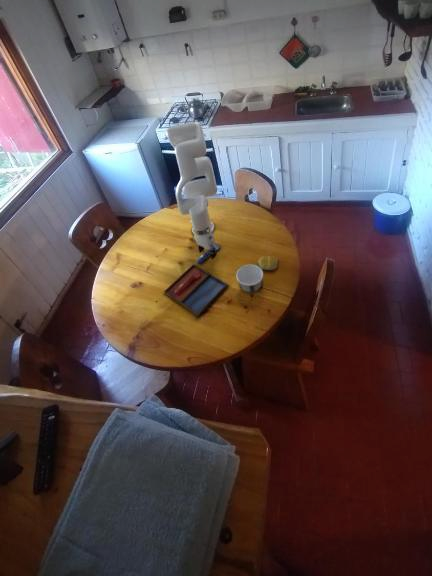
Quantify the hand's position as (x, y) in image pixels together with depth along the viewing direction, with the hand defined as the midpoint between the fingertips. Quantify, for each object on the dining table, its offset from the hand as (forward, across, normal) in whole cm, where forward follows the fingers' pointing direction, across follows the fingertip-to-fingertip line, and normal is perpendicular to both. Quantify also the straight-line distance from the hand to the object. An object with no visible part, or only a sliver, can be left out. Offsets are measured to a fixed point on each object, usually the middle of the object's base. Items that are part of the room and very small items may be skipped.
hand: (207, 253), depth 176 cm
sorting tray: (+1, -10, +19) cm, 22 cm away
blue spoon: (+1, 0, 0) cm, 1 cm away
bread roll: (+1, -29, -12) cm, 31 cm away
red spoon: (+1, -5, +20) cm, 20 cm away
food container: (+1, -29, +2) cm, 29 cm away
